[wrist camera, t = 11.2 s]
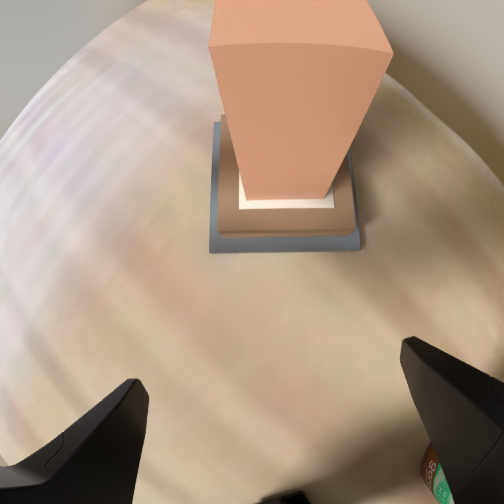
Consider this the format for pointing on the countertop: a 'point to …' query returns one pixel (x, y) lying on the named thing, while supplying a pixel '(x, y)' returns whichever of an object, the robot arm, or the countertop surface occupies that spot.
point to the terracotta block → (295, 88)
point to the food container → (435, 477)
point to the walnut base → (277, 211)
